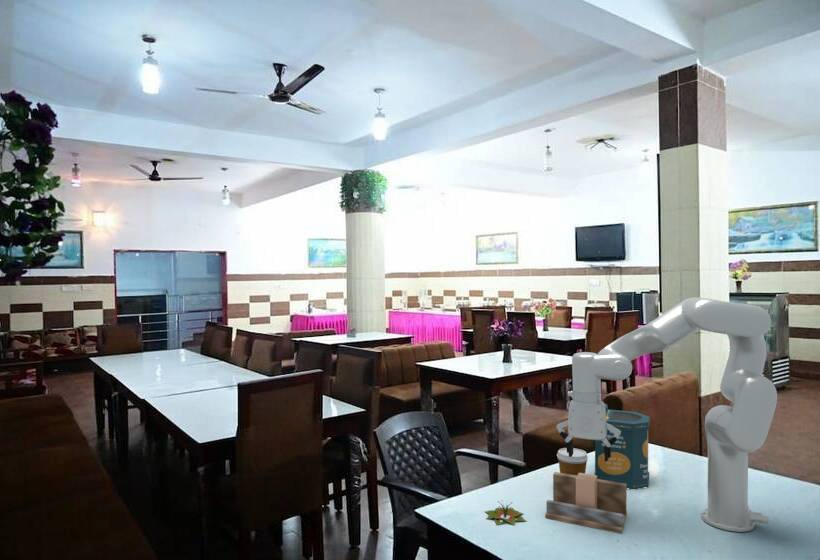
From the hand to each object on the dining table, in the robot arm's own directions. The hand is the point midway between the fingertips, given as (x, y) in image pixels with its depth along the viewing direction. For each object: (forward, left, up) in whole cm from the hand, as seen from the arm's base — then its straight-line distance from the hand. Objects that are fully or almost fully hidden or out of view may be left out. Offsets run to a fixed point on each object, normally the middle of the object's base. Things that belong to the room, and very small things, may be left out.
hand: (588, 457), depth 151 cm
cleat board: (+1, 0, -17) cm, 17 cm away
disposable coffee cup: (+8, -17, -17) cm, 25 cm away
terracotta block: (+1, 0, -16) cm, 16 cm away
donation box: (-5, -34, -17) cm, 38 cm away
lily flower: (+21, +11, -17) cm, 29 cm away
